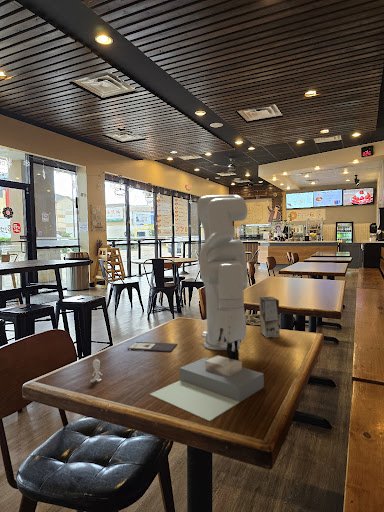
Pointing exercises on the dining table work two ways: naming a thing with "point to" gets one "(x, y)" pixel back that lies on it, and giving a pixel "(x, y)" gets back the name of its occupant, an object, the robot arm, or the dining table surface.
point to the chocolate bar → (153, 346)
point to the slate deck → (223, 380)
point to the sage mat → (195, 399)
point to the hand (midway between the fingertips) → (233, 362)
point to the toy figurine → (96, 370)
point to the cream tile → (223, 365)
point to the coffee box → (269, 317)
